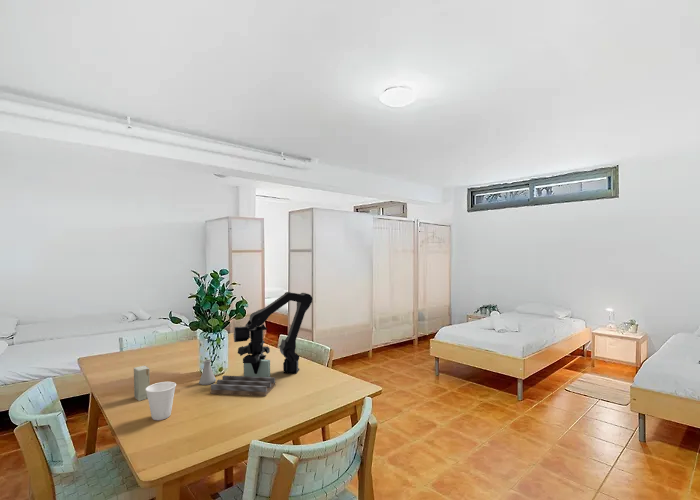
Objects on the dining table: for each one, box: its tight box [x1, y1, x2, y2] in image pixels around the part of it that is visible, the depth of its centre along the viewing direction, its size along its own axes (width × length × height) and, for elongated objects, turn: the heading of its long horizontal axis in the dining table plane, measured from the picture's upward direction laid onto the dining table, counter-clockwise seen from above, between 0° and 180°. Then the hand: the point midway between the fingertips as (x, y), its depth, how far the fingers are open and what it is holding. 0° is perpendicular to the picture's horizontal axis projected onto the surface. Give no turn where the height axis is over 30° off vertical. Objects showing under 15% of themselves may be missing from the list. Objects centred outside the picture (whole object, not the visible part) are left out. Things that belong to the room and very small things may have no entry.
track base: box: [210, 375, 276, 397], centre depth 157 cm, size 24×12×4 cm, turn 83°
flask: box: [198, 359, 217, 386], centre depth 166 cm, size 7×7×10 cm
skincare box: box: [133, 365, 151, 402], centre depth 149 cm, size 6×4×12 cm
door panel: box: [243, 359, 271, 377], centre depth 172 cm, size 12×2×8 cm, turn 83°
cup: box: [145, 381, 177, 421], centre depth 132 cm, size 10×10×11 cm
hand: (257, 372), depth 172 cm, fingers closed on door panel, 2 cm apart
